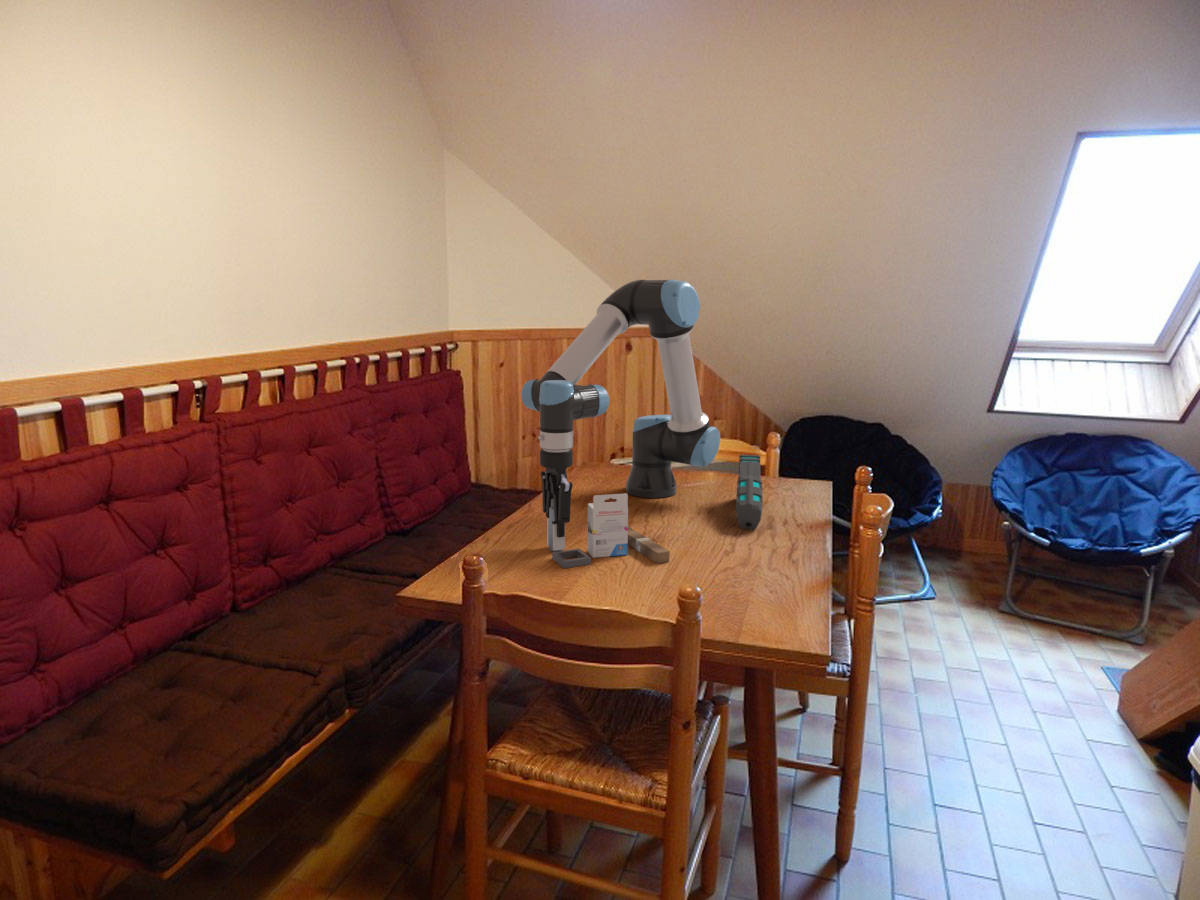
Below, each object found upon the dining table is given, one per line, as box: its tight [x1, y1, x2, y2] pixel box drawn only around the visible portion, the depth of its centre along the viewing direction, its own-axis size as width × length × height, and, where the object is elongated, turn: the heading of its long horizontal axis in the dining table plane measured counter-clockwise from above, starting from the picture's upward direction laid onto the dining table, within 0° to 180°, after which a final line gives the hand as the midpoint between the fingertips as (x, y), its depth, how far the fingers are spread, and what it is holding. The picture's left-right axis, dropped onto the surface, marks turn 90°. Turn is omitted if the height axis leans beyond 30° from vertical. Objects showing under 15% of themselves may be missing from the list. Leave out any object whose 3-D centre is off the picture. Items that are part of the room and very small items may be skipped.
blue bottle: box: [548, 498, 564, 552], centre depth 178 cm, size 3×3×12 cm
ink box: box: [586, 492, 629, 559], centre depth 176 cm, size 8×5×15 cm, turn 105°
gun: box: [735, 454, 764, 530], centre depth 209 cm, size 7×29×15 cm, turn 170°
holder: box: [551, 548, 592, 569], centre depth 172 cm, size 7×7×2 cm
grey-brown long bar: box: [627, 526, 670, 565], centre depth 182 cm, size 24×3×3 cm, turn 26°
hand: (555, 546), depth 180 cm, fingers closed on blue bottle, 3 cm apart
